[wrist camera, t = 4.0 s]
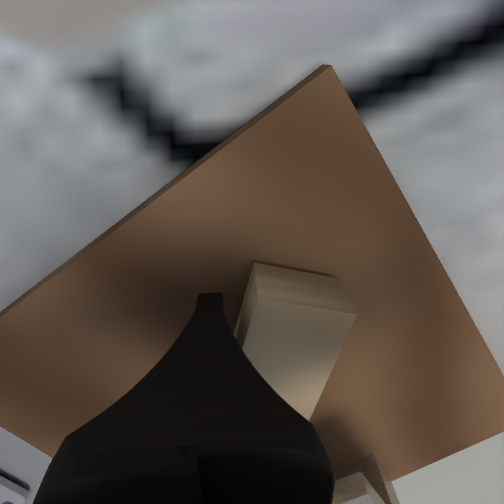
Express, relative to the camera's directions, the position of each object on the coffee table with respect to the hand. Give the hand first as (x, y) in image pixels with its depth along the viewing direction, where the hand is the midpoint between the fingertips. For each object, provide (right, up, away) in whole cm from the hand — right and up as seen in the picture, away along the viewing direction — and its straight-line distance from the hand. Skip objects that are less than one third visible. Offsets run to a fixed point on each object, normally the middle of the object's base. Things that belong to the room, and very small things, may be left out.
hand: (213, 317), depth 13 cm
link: (+1, -5, +3) cm, 6 cm away
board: (+1, -4, +4) cm, 5 cm away
